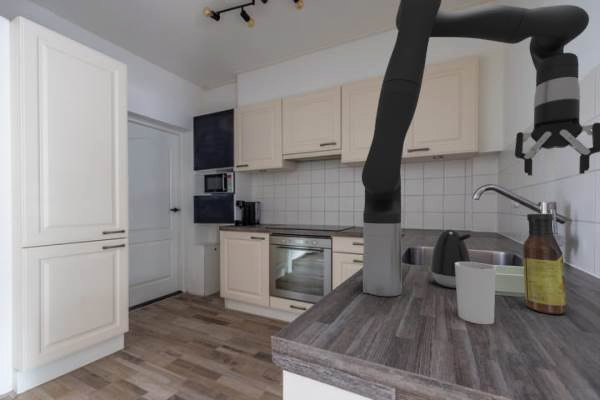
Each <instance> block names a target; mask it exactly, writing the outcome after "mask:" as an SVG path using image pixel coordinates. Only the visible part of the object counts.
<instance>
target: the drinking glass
mask: <svg viewBox="0 0 600 400" xmlns="http://www.w3.org/2000/svg"><path fill="white" fill-rule="evenodd" d="M493 265H494V264H489V263H481V262H476V261H472V262H456V263H455V274H456V288H455V289H456V302H457V316H458V317H459V318H460V319H462V320H463V321H467V322H469V323H472V324H473V323H474V324H477V325H492V324H494V323H495V305H496V304H495V301H496V299H495V298H496V295H495V274H496V267H495V266H493Z"/></svg>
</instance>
